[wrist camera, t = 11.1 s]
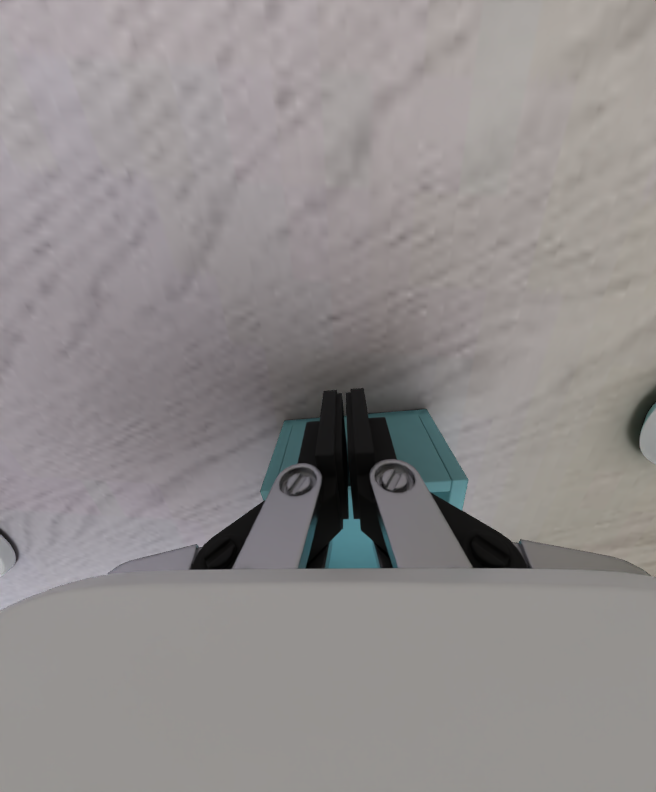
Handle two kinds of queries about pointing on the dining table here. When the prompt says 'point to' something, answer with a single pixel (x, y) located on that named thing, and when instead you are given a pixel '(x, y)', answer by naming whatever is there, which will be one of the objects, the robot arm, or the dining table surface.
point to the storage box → (412, 444)
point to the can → (649, 436)
